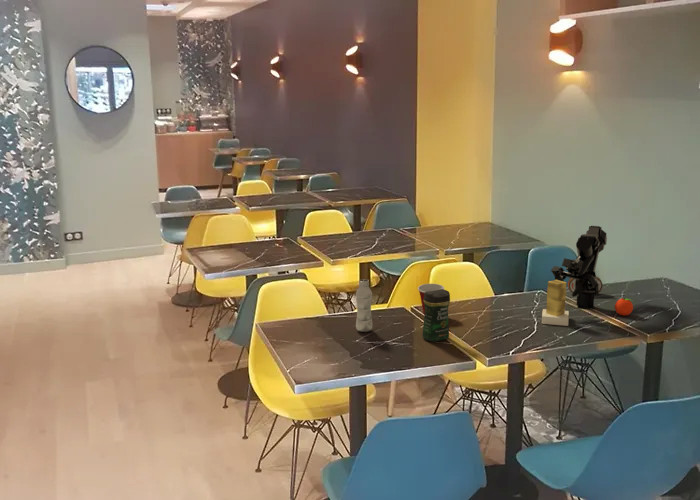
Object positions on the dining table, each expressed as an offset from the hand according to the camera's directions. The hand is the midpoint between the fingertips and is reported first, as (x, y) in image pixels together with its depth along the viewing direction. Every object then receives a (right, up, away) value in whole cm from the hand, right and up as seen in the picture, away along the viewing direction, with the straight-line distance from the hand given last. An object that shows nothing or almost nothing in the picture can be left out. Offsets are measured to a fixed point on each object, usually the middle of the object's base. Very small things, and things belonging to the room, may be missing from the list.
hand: (563, 293), depth 284 cm
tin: (+21, -3, +36) cm, 42 cm away
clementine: (+27, -9, +6) cm, 29 cm away
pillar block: (-3, -8, -1) cm, 9 cm away
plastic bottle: (-80, -14, -10) cm, 81 cm away
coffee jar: (-53, -16, -19) cm, 59 cm away
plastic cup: (-52, -10, +8) cm, 53 cm away
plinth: (-3, -11, 0) cm, 11 cm away
